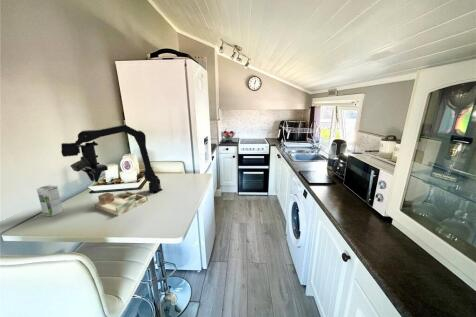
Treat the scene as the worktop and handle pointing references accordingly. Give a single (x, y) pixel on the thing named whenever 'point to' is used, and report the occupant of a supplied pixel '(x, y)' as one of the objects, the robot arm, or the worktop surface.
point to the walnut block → (106, 198)
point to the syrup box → (50, 200)
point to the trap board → (122, 203)
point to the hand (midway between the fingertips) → (94, 181)
